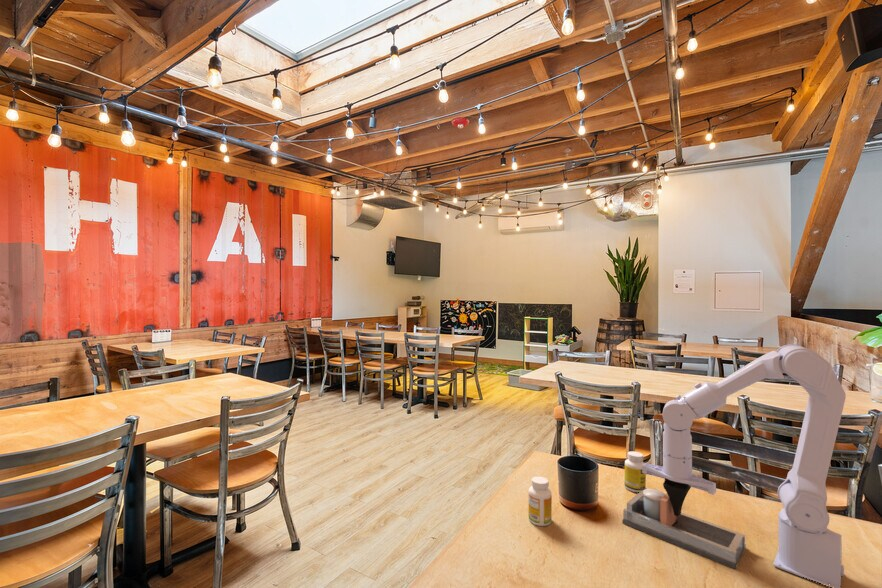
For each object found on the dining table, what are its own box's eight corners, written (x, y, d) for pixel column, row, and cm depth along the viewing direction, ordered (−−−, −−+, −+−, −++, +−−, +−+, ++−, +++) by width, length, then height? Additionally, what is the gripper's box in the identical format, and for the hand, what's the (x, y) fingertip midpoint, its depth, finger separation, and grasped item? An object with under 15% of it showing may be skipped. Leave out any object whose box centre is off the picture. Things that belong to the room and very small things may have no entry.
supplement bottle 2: (643, 495, 109) (643, 459, 109) (622, 489, 112) (622, 454, 113) (647, 487, 113) (647, 453, 114) (626, 482, 117) (626, 448, 117)
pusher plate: (675, 521, 94) (675, 492, 94) (666, 531, 90) (666, 501, 90) (669, 519, 95) (669, 490, 95) (660, 529, 91) (660, 499, 91)
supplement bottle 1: (549, 515, 99) (549, 475, 99) (553, 527, 93) (553, 485, 93) (527, 513, 99) (527, 474, 99) (529, 526, 94) (530, 484, 94)
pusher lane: (745, 548, 86) (745, 524, 86) (735, 569, 79) (735, 543, 79) (638, 508, 102) (638, 488, 102) (622, 523, 95) (622, 502, 95)
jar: (668, 520, 95) (668, 493, 95) (663, 529, 91) (662, 500, 92) (646, 513, 98) (646, 486, 98) (640, 521, 95) (640, 493, 95)
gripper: (719, 459, 89) (719, 520, 89) (650, 441, 99) (650, 496, 99) (710, 467, 84) (711, 533, 84) (638, 448, 95) (638, 506, 94)
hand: (677, 514), depth 91 cm, fingers closed
